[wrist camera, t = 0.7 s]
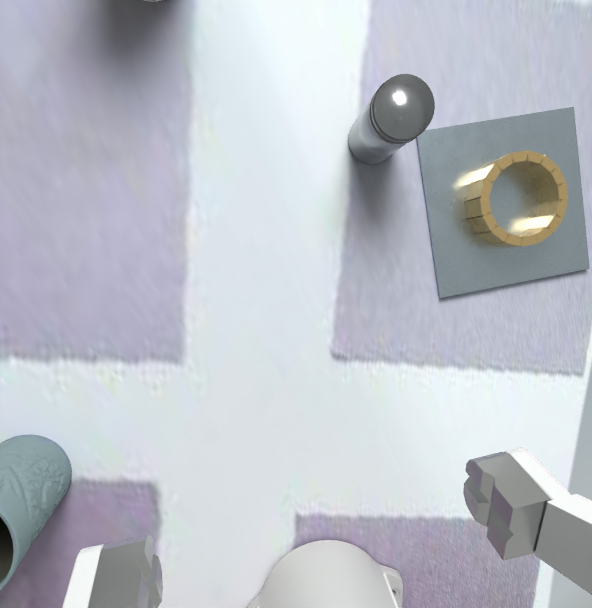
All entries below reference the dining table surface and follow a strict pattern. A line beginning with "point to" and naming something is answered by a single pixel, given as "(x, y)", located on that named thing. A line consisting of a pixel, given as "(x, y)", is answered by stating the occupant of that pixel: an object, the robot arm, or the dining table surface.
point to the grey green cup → (28, 494)
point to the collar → (504, 200)
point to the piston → (391, 119)
